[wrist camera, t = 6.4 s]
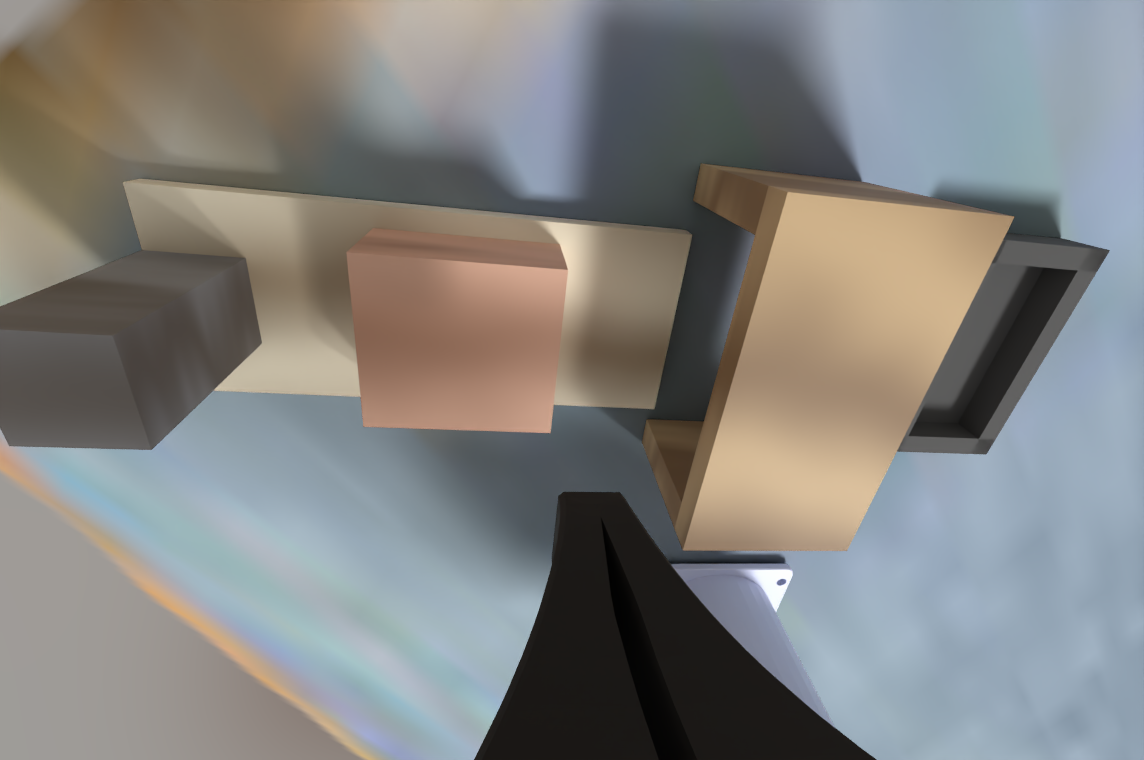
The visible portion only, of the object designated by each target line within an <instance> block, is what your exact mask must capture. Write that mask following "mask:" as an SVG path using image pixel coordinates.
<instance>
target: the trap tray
mask: <svg viewBox="0 0 1144 760" xmlns="http://www.w3.org/2000/svg"><path fill="white" fill-rule="evenodd" d="M1109 251H1110V250H1106V249H1102V248H1098V247H1094V246H1090V245H1086V244H1082V243H1078V242H1074V241H1070V240H1066V239H1061V238H1052V237H1042V236H1032V235H1022V234H1013V233H1006V235H1005V237H1004V239H1003V241H1002V243H1001V245H1000V247H999V249H998V251H997V253H996V255H995V257H994V259H993V261H992V263H991V265H990V267H989V269H988V271H987V273H986V275H985V277H984V279H983V281H982V283H981V285H980V287H979V289H978V291H977V293H976V295H975V297H974V299H973V301H972V303H971V305H970V307H969V309H968V311H967V313H966V315H965V317H964V319H963V321H962V323H961V325H960V327H959V329H958V331H957V333H956V335H955V336H954V338H953V340H952V342H951V344H950V346H949V348H948V350H947V352H946V354H945V356H944V358H943V360H942V362H941V364H940V366H939V368H938V370H937V372H936V374H935V376H934V378H933V380H932V382H931V384H930V386H929V388H928V390H927V392H926V394H925V396H924V398H923V400H922V402H921V404H920V406H919V408H918V410H917V412H916V414H915V416H914V418H913V420H912V422H911V424H910V426H909V428H908V430H907V432H906V434H905V436H904V438H903V440H902V442H901V444H900V446H899V448H898V450H897V451H898V452H929V453H960V454H987V452H988V451H989V449H990V447H991V446H992V444H993V442H994V441H995V439H996V437H997V436H998V434H999V433H1000V431H1001V429H1002V428H1003V426H1004V424H1005V423H1006V421H1007V419H1008V418H1009V416H1010V414H1011V413H1012V411H1013V409H1014V408H1015V406H1016V404H1017V403H1018V401H1019V400H1020V398H1021V396H1022V395H1023V393H1024V391H1025V390H1026V388H1027V386H1028V385H1029V383H1030V381H1031V380H1032V378H1033V376H1034V375H1035V373H1036V371H1037V370H1038V368H1039V366H1040V365H1041V363H1042V362H1043V360H1044V358H1045V357H1046V355H1047V353H1048V352H1049V350H1050V348H1051V347H1052V345H1053V343H1054V342H1055V340H1056V338H1057V337H1058V335H1059V333H1060V332H1061V330H1062V329H1063V327H1064V325H1065V324H1066V322H1067V320H1068V319H1069V317H1070V315H1071V314H1072V312H1073V310H1074V309H1075V307H1076V305H1077V304H1078V302H1079V300H1080V299H1081V297H1082V296H1083V294H1084V292H1085V291H1086V289H1087V287H1088V286H1089V284H1090V282H1091V281H1092V279H1093V277H1094V276H1095V274H1096V272H1097V271H1098V269H1099V267H1100V266H1101V264H1102V262H1103V261H1104V259H1105V258H1106V256H1107V254H1108V253H1109Z"/></svg>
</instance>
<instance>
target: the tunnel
mask: <svg viewBox="0 0 1144 760" xmlns="http://www.w3.org/2000/svg"><path fill="white" fill-rule="evenodd" d="M693 201H694V202H696V203H698V204H700V205H702V206H704V207H705V208H707V209H709V210H711V211H713V212H714V213H716V214H718V215H720V216H722V217H723V218H725V219H727V220H729V221H731V222H733V223H734V224H736V225H738V226H740V227H742V228H743V229H745V230H747V231H749V232H751V233H752V234H754V235H755V238H754V241H753V245H752V248H751V252H750V256H749V259H748V263H747V267H746V270H745V274H744V278H743V281H742V285H741V288H740V292H739V296H738V299H737V303H736V307H735V310H734V314H733V318H732V321H731V325H730V328H729V332H728V336H727V339H726V343H725V347H724V350H723V354H722V358H721V361H720V365H719V368H718V372H717V376H716V379H715V383H714V387H713V390H712V394H711V398H710V401H709V405H708V408H707V412H706V416H705V419H704V421H681V420H655V419H647V420H646V425H645V429H644V434H643V439H642V444H643V447H644V449H645V452H646V455H647V457H648V460H649V462H650V465H651V468H652V470H653V473H654V476H655V478H656V481H657V484H658V486H659V489H660V492H661V494H662V497H663V500H664V502H665V505H666V508H667V510H668V513H669V515H670V518H671V521H672V523H673V526H674V529H675V531H676V534H677V537H678V539H679V542H680V545H681V547H682V550H683V551H847V549H848V547H849V545H850V543H851V542H852V540H853V538H854V536H855V534H856V532H857V530H858V528H859V526H860V524H861V522H862V520H863V518H864V516H865V514H866V512H867V510H868V508H869V506H870V504H871V502H872V500H873V498H874V496H875V494H876V492H877V490H878V488H879V486H880V484H881V482H882V480H883V478H884V476H885V474H886V472H887V470H888V468H889V466H890V464H891V462H892V460H893V458H894V456H895V454H896V452H897V450H898V448H899V446H900V444H901V442H902V440H903V438H904V436H905V434H906V432H907V430H908V428H909V426H910V424H911V422H912V420H913V418H914V416H915V414H916V412H917V410H918V408H919V406H920V404H921V402H922V400H923V398H924V396H925V394H926V392H927V390H928V388H929V386H930V384H931V382H932V380H933V378H934V376H935V374H936V372H937V370H938V368H939V366H940V364H941V362H942V360H943V358H944V356H945V354H946V352H947V350H948V348H949V346H950V344H951V342H952V340H953V338H954V336H955V335H956V333H957V331H958V329H959V327H960V325H961V323H962V321H963V319H964V317H965V315H966V313H967V311H968V309H969V307H970V305H971V303H972V301H973V299H974V297H975V295H976V293H977V291H978V289H979V287H980V285H981V283H982V281H983V279H984V277H985V275H986V273H987V271H988V269H989V267H990V265H991V263H992V261H993V259H994V257H995V255H996V253H997V251H998V249H999V247H1000V245H1001V243H1002V241H1003V239H1004V237H1005V235H1006V233H1007V231H1008V229H1009V227H1010V225H1011V223H1012V221H1013V219H1014V216H1010V215H1006V214H1001V213H997V212H992V211H988V210H984V209H979V208H975V207H971V206H966V205H962V204H958V203H953V202H949V201H944V200H940V199H936V198H931V197H927V196H923V195H918V194H914V193H910V192H905V191H901V190H897V189H892V188H888V187H883V186H879V185H875V184H870V183H866V182H860V181H851V180H842V179H834V178H825V177H816V176H807V175H799V174H790V173H781V172H772V171H763V170H755V169H746V168H737V167H728V166H719V165H711V164H702V163H701V165H700V170H699V174H698V179H697V184H696V189H695V193H694V198H693Z"/></svg>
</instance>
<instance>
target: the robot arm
mask: <svg viewBox="0 0 1144 760" xmlns="http://www.w3.org/2000/svg"><path fill="white" fill-rule="evenodd" d="M792 575H793V571H792V569H791V567H790V566H789V565H788V564H670V562H669V561H668V560H667V559H666V557H665V556H664V555H663V553H662V552H661V551H660V549H659V548H658V547H657V545H656V544H655V542H654V541H653V540H652V538H651V537H650V535H649V534H648V532H647V531H646V530H645V528H644V527H643V525H642V524H641V522H640V521H639V519H638V518H637V516H636V515H635V513H634V512H633V510H632V509H631V507H630V506H629V504H628V503H627V501H626V499H625V498H624V497H623V495H622V494H621V493H620V492H563V493H562V494H561V495H559V496H558V505H557V514H556V523H555V533H554V542H553V551H552V567H551V571H550V575H549V578H548V581H547V585H546V588H545V592H544V595H543V598H542V602H541V605H540V608H539V611H538V614H537V617H536V620H535V623H534V626H533V629H532V631H531V634H530V637H529V639H528V642H527V645H526V647H525V650H524V652H523V655H522V657H521V660H520V662H519V665H518V667H517V669H516V672H515V674H514V676H513V679H512V681H511V684H510V686H509V688H508V691H507V693H506V695H505V697H504V699H503V702H502V704H501V706H500V708H499V710H498V712H497V714H496V716H495V718H494V720H493V722H492V725H491V727H490V729H489V731H488V733H487V735H486V737H485V739H484V741H483V743H482V745H481V747H480V749H479V751H478V753H477V755H476V757H475V759H474V760H876V759H875V758H874V757H872V756H871V755H869V754H868V753H867V752H865V751H864V750H863V749H861V748H860V747H859V746H857V745H856V744H855V743H854V742H852V741H851V740H850V739H849V738H847V737H846V736H845V735H843V734H842V733H841V732H840V731H838V730H837V729H836V728H835V726H834V724H833V722H832V720H831V718H830V716H829V714H828V713H827V711H826V709H825V707H824V705H823V703H822V701H821V699H820V697H819V695H818V693H817V691H816V689H815V687H814V685H813V683H812V681H811V679H810V678H809V676H808V674H807V672H806V670H805V668H804V666H803V664H802V662H801V660H800V658H799V656H798V654H797V652H796V650H795V648H794V646H793V644H792V643H791V641H790V639H789V637H788V635H787V633H786V631H785V629H784V627H783V625H782V623H781V621H780V619H779V617H778V615H777V613H776V611H777V609H778V607H779V604H780V602H781V600H782V598H783V595H784V593H785V591H786V589H787V587H788V584H789V582H790V580H791V578H792Z"/></svg>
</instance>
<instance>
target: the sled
mask: <svg viewBox="0 0 1144 760" xmlns="http://www.w3.org/2000/svg"><path fill="white" fill-rule="evenodd" d="M123 185H124V189H125V192H126V196H127V199H128V203H129V206H130V210H131V213H132V217H133V220H134V224H135V227H136V231H137V234H138V238H139V241H140V245H141V248H142V250H141V251H138V252H136V253H133V254H131V255H128V256H126V257H123V258H121V259H118V260H116V261H113V262H111V263H108V264H106V265H103V266H101V267H98V268H96V269H93V270H91V271H88V272H86V273H83V274H81V275H78V276H76V277H73V278H71V279H68V280H66V281H63V282H61V283H58V284H56V285H53V286H51V287H48V288H46V289H43V290H41V291H38V292H36V293H33V294H31V295H28V296H26V297H23V298H21V299H18V300H16V301H13V302H11V303H8V304H6V305H3V306H1V307H0V428H1V430H2V432H3V434H4V436H5V438H6V440H7V442H8V444H9V446H25V447H63V448H101V449H139V450H152V449H153V448H154V447H155V446H156V445H157V444H158V443H159V442H160V441H161V440H162V439H163V438H164V437H165V436H166V435H168V434H169V433H170V432H171V431H172V430H173V429H174V428H175V427H176V426H177V425H178V424H179V423H180V422H181V421H182V420H183V419H184V418H185V417H186V416H187V415H188V414H189V413H190V412H191V411H192V410H193V409H195V408H196V407H197V406H198V405H199V404H200V403H201V402H202V401H203V400H204V399H205V398H206V397H207V396H208V395H209V394H210V393H211V392H212V391H234V392H258V393H281V394H305V395H329V396H353V397H361V406H362V417H363V427H386V428H415V429H444V430H474V431H503V432H533V433H551V424H552V415H553V405H568V406H591V407H615V408H639V409H655V404H656V400H657V395H658V391H659V386H660V381H661V377H662V372H663V368H664V363H665V358H666V354H667V349H668V345H669V340H670V335H671V331H672V326H673V322H674V317H675V313H676V308H677V303H678V299H679V294H680V290H681V285H682V280H683V276H684V271H685V267H686V262H687V257H688V253H689V248H690V244H691V239H692V234H690V233H689V232H688V231H686V230H682V229H671V228H661V227H650V226H639V225H629V224H618V223H608V222H597V221H586V220H576V219H565V218H554V217H544V216H533V215H523V214H512V213H501V212H491V211H480V210H469V209H459V208H448V207H438V206H427V205H416V204H406V203H395V202H384V201H374V200H363V199H352V198H342V197H331V196H321V195H310V194H299V193H289V192H278V191H267V190H257V189H246V188H236V187H225V186H214V185H204V184H193V183H182V182H172V181H161V180H151V179H135V180H130V181H125V182H123Z"/></svg>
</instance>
